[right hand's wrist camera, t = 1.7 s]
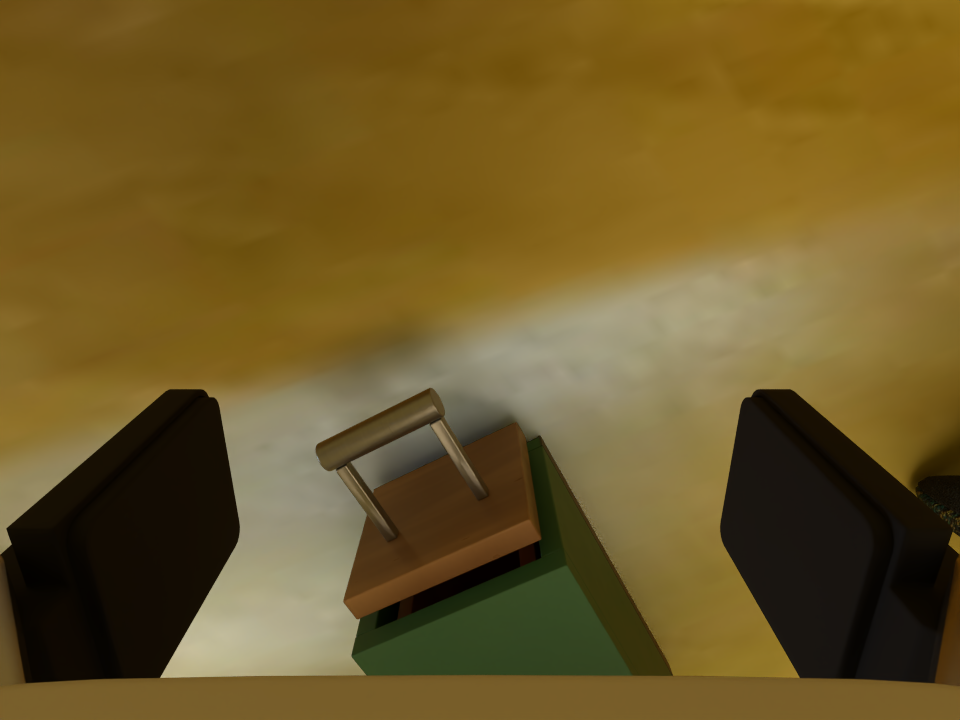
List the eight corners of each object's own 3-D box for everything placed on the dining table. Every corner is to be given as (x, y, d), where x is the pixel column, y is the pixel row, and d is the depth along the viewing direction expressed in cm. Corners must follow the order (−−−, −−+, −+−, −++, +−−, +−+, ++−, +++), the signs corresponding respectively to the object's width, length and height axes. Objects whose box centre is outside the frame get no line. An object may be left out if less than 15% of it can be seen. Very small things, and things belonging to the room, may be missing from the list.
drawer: (315, 406, 33) (262, 501, 25) (464, 331, 31) (461, 404, 23) (518, 696, 41) (529, 840, 33) (645, 646, 39) (690, 784, 31)
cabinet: (385, 508, 36) (350, 656, 26) (540, 435, 35) (567, 564, 25) (531, 716, 43) (549, 900, 33) (669, 664, 41) (731, 841, 31)
